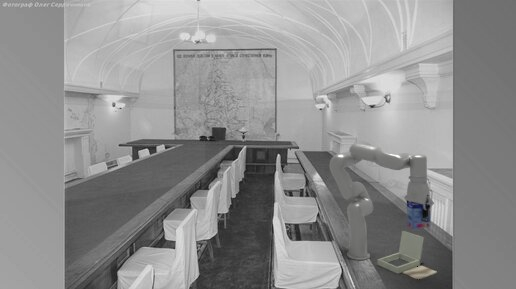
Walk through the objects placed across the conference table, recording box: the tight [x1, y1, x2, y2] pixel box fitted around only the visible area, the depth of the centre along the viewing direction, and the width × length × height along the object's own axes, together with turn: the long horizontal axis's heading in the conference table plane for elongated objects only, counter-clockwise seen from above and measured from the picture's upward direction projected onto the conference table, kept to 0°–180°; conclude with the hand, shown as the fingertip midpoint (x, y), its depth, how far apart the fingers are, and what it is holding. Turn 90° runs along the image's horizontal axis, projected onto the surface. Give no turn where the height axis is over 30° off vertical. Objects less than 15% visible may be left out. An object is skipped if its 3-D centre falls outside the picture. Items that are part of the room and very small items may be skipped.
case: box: [377, 230, 425, 274], centre depth 187 cm, size 13×21×15 cm, turn 119°
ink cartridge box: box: [406, 202, 431, 230], centre depth 175 cm, size 10×6×14 cm, turn 100°
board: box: [402, 265, 437, 281], centre depth 177 cm, size 9×14×1 cm, turn 119°
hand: (418, 215), depth 175 cm, fingers closed on ink cartridge box, 6 cm apart
